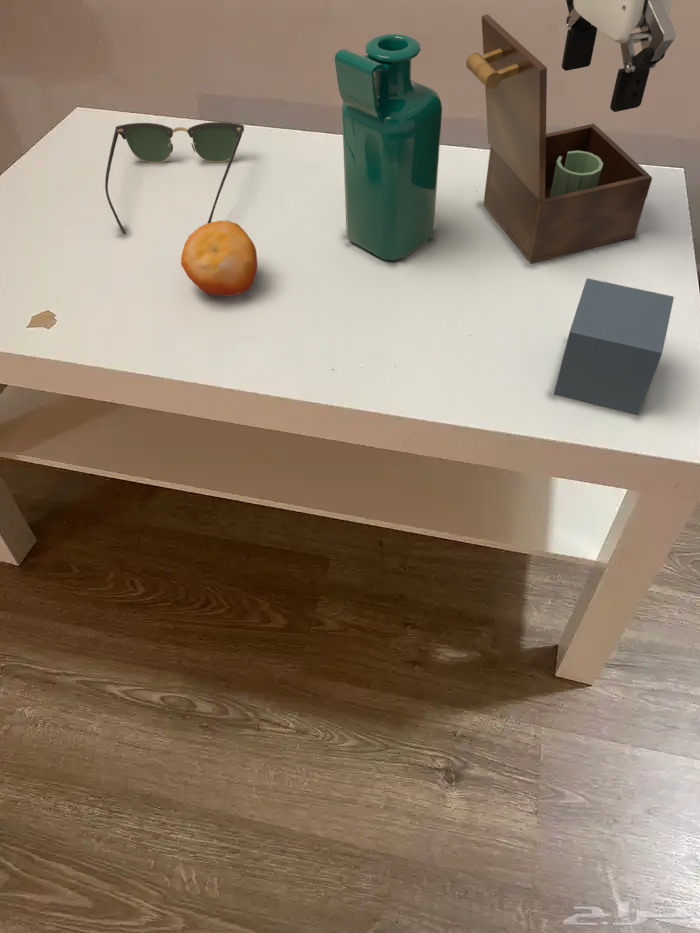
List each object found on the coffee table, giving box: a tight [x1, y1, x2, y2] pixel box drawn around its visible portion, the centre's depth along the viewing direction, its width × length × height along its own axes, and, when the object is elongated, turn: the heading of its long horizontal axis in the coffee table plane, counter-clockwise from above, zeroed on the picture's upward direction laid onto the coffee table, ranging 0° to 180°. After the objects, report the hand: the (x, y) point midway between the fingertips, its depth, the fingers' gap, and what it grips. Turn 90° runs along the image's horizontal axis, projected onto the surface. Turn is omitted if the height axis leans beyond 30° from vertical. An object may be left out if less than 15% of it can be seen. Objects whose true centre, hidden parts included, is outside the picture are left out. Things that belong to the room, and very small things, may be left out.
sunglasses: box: [104, 121, 245, 234], centre depth 97 cm, size 16×17×5 cm
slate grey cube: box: [553, 278, 675, 416], centre depth 74 cm, size 8×8×8 cm
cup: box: [550, 151, 603, 197], centre depth 90 cm, size 5×5×6 cm
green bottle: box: [334, 33, 443, 261], centre depth 83 cm, size 10×8×22 cm
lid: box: [465, 13, 548, 201], centre depth 80 cm, size 14×12×4 cm
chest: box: [483, 123, 653, 264], centre depth 90 cm, size 13×12×8 cm
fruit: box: [180, 220, 258, 297], centre depth 85 cm, size 8×8×8 cm
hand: (599, 87), depth 81 cm, fingers open, 9 cm apart
